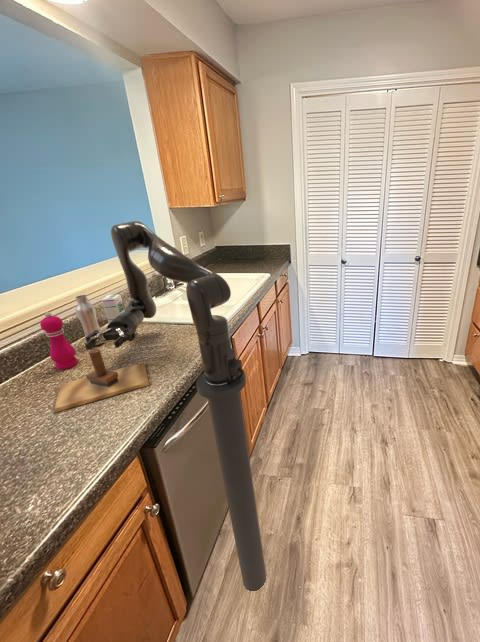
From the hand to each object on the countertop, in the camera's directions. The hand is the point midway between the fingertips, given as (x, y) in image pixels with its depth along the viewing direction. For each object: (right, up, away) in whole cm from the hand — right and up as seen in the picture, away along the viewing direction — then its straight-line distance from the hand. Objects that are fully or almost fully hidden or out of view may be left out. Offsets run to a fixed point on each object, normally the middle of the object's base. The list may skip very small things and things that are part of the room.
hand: (101, 346), depth 100 cm
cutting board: (+1, -12, 0) cm, 13 cm away
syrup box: (-19, +5, +44) cm, 48 cm away
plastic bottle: (-20, -2, +29) cm, 35 cm away
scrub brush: (+1, -11, 0) cm, 11 cm away
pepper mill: (-21, -8, +14) cm, 26 cm away
